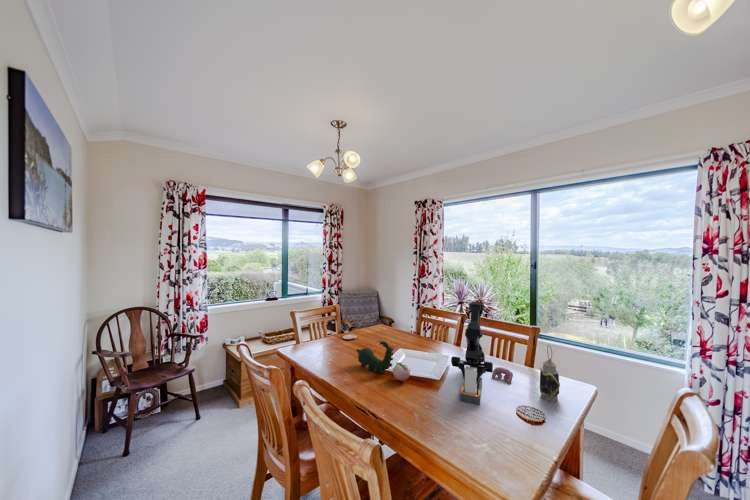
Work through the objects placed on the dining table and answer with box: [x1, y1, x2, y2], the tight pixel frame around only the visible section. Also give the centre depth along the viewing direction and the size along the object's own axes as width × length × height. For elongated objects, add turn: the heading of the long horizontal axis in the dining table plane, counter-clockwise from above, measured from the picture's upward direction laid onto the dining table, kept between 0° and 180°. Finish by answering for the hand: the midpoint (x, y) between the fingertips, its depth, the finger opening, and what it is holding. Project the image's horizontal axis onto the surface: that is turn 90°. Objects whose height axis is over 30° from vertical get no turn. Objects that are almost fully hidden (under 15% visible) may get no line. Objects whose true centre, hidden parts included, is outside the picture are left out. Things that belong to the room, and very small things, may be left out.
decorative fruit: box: [392, 361, 411, 382], centre depth 148 cm, size 9×8×10 cm
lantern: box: [539, 344, 561, 403], centre depth 132 cm, size 9×8×25 cm
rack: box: [459, 377, 483, 406], centre depth 137 cm, size 20×8×4 cm, turn 157°
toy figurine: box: [355, 340, 394, 374], centre depth 163 cm, size 9×19×25 cm
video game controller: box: [491, 366, 514, 385], centre depth 151 cm, size 10×5×7 cm, turn 48°
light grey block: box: [464, 365, 478, 395], centre depth 131 cm, size 4×5×12 cm
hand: (470, 382), depth 130 cm, fingers open, 5 cm apart
